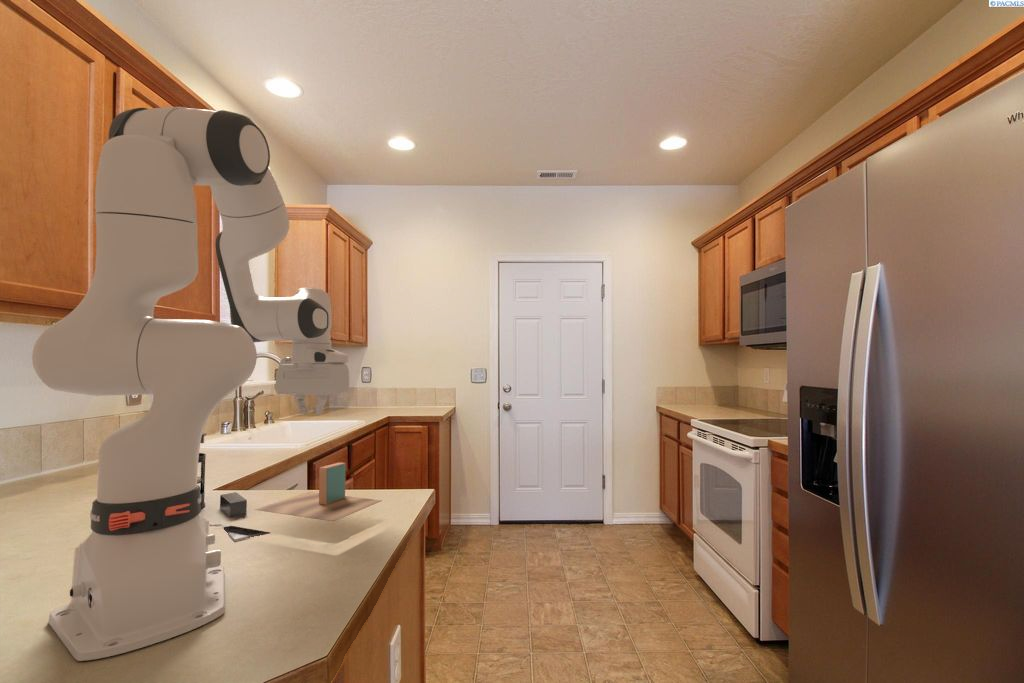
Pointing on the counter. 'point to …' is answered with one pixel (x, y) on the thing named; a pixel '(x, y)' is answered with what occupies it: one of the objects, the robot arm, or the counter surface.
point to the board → (318, 506)
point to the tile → (331, 483)
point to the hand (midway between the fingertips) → (310, 414)
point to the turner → (237, 516)
